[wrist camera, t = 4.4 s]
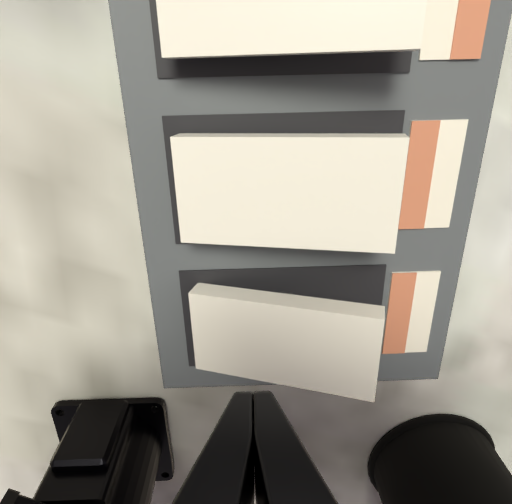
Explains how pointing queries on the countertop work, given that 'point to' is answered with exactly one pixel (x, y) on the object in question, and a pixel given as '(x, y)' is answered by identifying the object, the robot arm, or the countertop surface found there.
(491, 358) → the countertop surface
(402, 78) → the switch unit
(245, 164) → the rocker
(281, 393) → the countertop surface
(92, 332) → the countertop surface
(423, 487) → the aerosol can
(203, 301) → the rocker
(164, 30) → the rocker
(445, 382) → the countertop surface
